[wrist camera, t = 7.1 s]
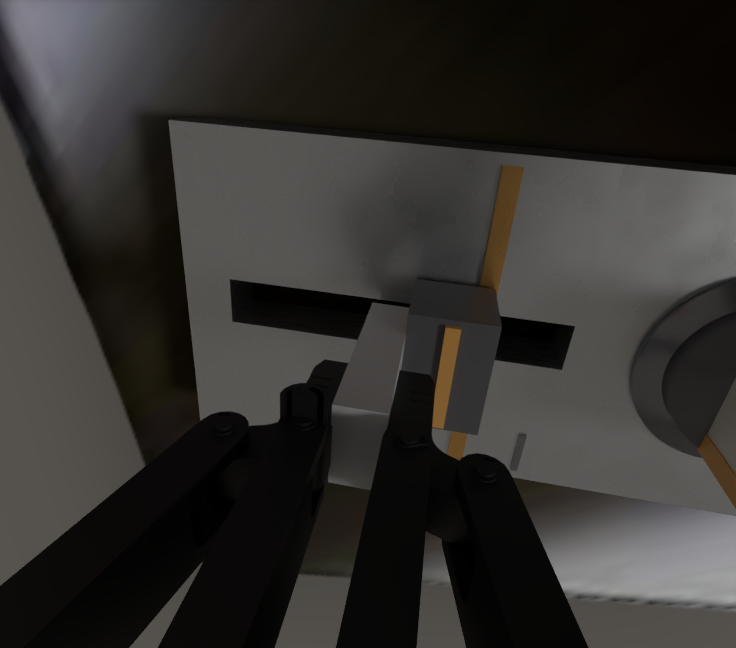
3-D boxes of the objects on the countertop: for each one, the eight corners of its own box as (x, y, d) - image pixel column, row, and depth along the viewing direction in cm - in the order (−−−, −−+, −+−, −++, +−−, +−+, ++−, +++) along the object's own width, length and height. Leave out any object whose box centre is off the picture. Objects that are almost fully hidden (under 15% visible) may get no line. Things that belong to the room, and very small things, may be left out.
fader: (420, 257, 21) (407, 316, 15) (491, 265, 20) (502, 329, 15) (409, 345, 23) (394, 425, 18) (473, 355, 22) (477, 439, 17)
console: (200, 115, 20) (163, 120, 17) (965, 188, 17) (1053, 207, 14) (222, 394, 26) (197, 426, 24) (779, 486, 23) (817, 535, 21)
